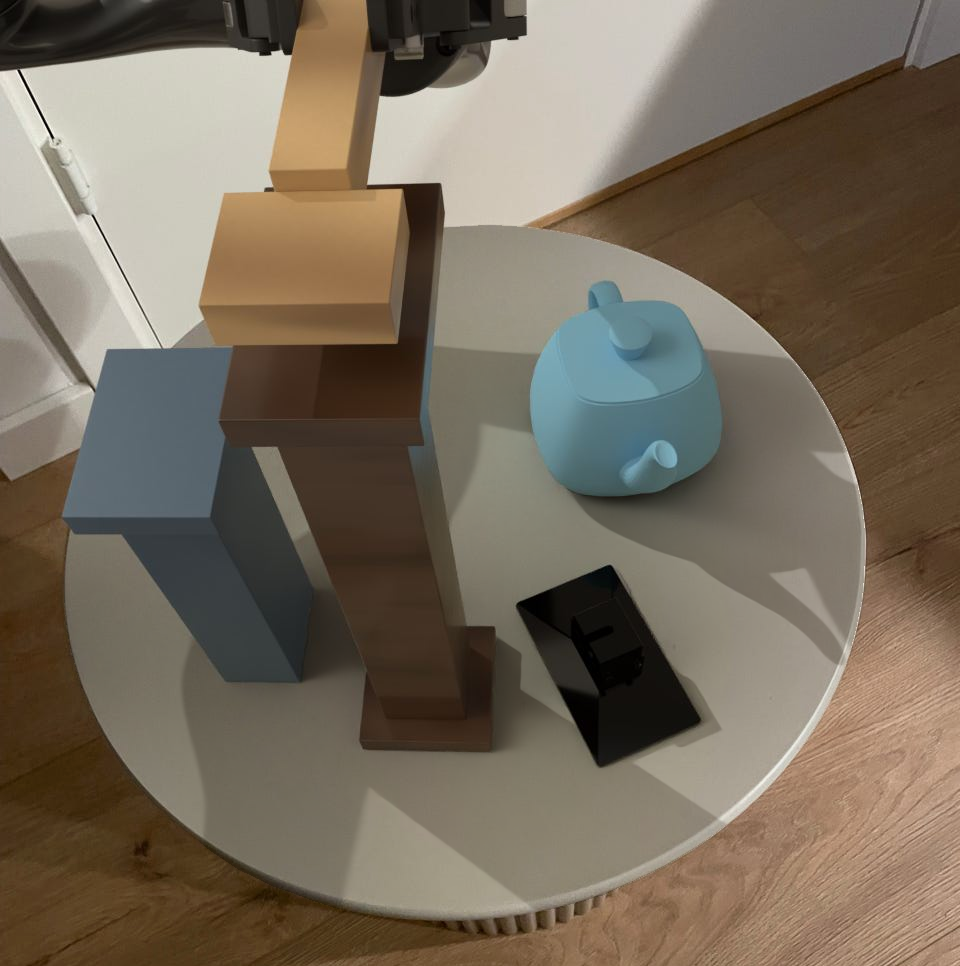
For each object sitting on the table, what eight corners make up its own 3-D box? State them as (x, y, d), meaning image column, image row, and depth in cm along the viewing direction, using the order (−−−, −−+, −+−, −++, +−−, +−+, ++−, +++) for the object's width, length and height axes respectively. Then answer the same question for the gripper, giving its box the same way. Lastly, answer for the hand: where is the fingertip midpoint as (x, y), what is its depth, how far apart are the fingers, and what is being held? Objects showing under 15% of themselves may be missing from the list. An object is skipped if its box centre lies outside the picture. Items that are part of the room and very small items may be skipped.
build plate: (514, 606, 68) (511, 570, 64) (614, 565, 69) (617, 526, 65) (598, 769, 62) (600, 740, 58) (706, 722, 63) (715, 690, 59)
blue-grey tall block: (229, 568, 70) (106, 348, 51) (330, 568, 70) (243, 346, 51) (205, 703, 66) (60, 517, 47) (313, 704, 65) (210, 517, 46)
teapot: (567, 482, 59) (505, 259, 67) (566, 576, 68) (512, 371, 76) (782, 439, 59) (694, 223, 67) (751, 539, 69) (678, 339, 77)
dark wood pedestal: (379, 588, 69) (251, 186, 40) (498, 589, 68) (454, 181, 40) (362, 750, 64) (202, 421, 35) (491, 752, 63) (434, 419, 35)
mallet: (290, -12, 42) (275, -81, 40) (437, -18, 41) (430, -87, 39) (214, 346, 33) (189, 285, 31) (397, 344, 33) (385, 282, 31)
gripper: (542, 83, 52) (530, 131, 38) (271, 92, 53) (160, 141, 39) (542, -99, 48) (529, -124, 34) (249, -85, 49) (114, -104, 35)
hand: (331, 18), depth 36 cm, fingers closed on mallet, 2 cm apart
